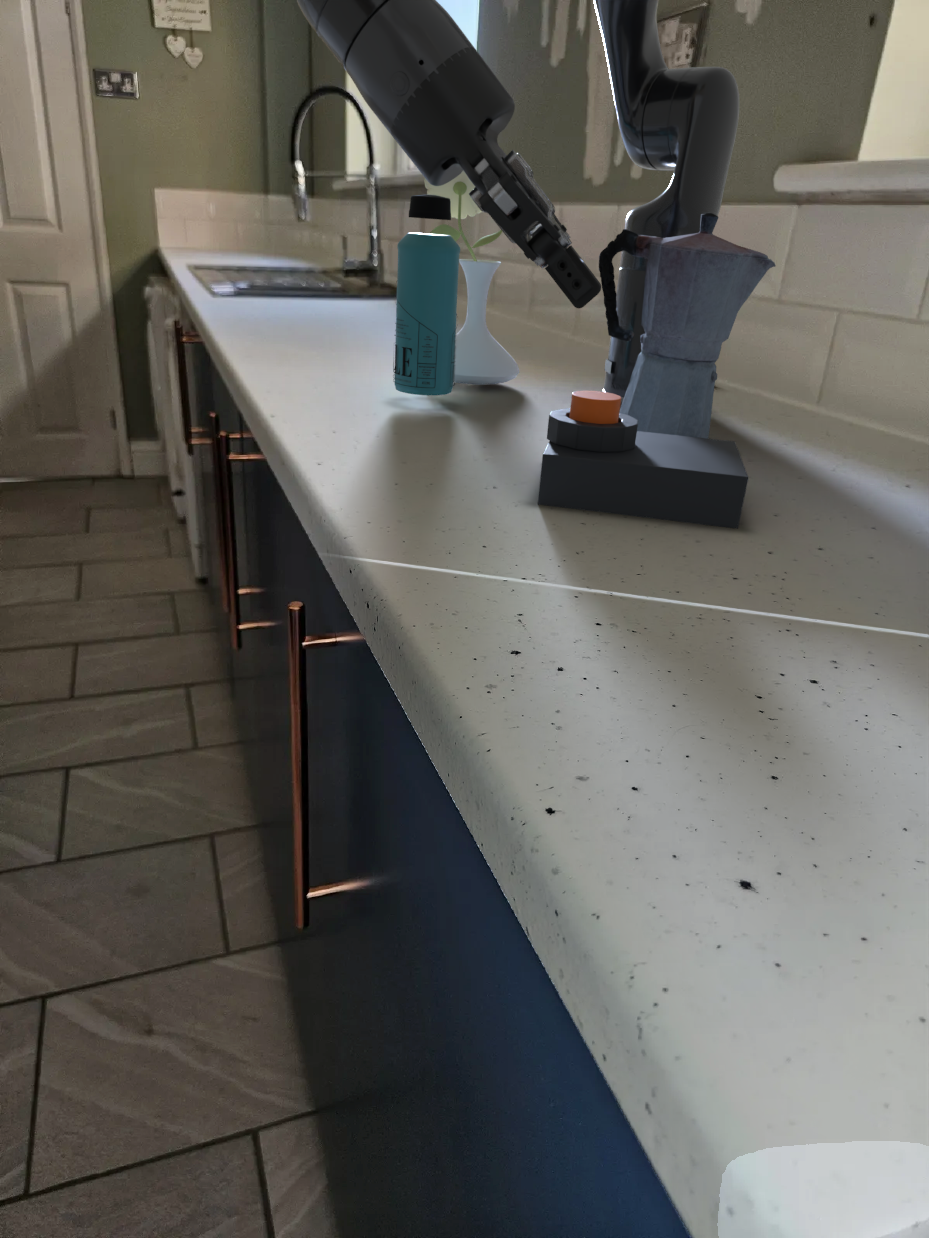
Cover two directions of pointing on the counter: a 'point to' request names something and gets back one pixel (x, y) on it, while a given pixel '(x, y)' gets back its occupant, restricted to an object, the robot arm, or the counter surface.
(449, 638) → the counter surface
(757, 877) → the counter surface
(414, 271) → the beverage bottle
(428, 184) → the flower in vase
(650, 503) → the base
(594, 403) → the kettle switch
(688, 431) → the moka pot
